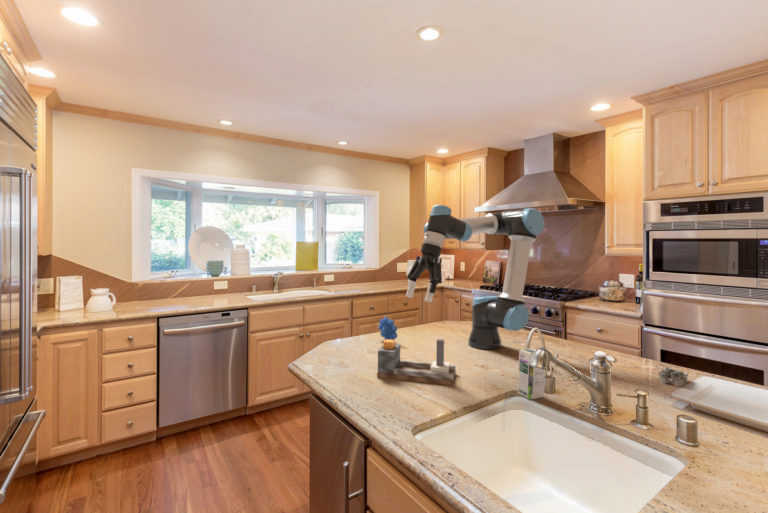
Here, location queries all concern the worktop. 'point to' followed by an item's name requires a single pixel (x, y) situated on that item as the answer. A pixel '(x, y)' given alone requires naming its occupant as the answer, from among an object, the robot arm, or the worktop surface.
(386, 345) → the button
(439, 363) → the carriage
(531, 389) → the syrup box
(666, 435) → the worktop surface
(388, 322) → the grapes
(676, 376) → the grey ruffled clump
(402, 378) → the rail base
